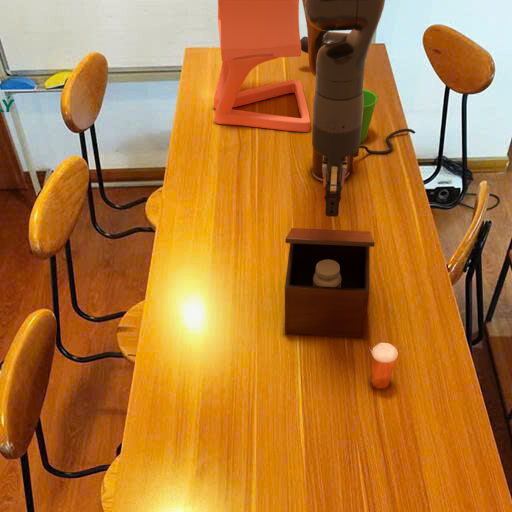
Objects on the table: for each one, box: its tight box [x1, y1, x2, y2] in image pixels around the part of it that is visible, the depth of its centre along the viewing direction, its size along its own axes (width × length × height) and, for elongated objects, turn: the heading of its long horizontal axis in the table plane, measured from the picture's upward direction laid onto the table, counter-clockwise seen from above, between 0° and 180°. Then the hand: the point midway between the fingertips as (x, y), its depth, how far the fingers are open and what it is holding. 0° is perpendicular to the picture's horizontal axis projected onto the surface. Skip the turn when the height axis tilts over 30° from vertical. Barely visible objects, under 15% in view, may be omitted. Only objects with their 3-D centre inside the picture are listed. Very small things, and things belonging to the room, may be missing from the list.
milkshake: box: [368, 342, 399, 390], centre depth 124 cm, size 4×5×10 cm
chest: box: [284, 243, 371, 340], centre depth 137 cm, size 17×16×12 cm
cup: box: [360, 88, 379, 143], centre depth 178 cm, size 9×9×11 cm
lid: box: [284, 227, 376, 248], centre depth 129 cm, size 17×16×1 cm
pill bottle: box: [313, 259, 342, 287], centre depth 137 cm, size 6×6×10 cm
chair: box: [213, 0, 311, 133], centre depth 178 cm, size 24×26×35 cm
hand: (331, 213), depth 118 cm, fingers closed
